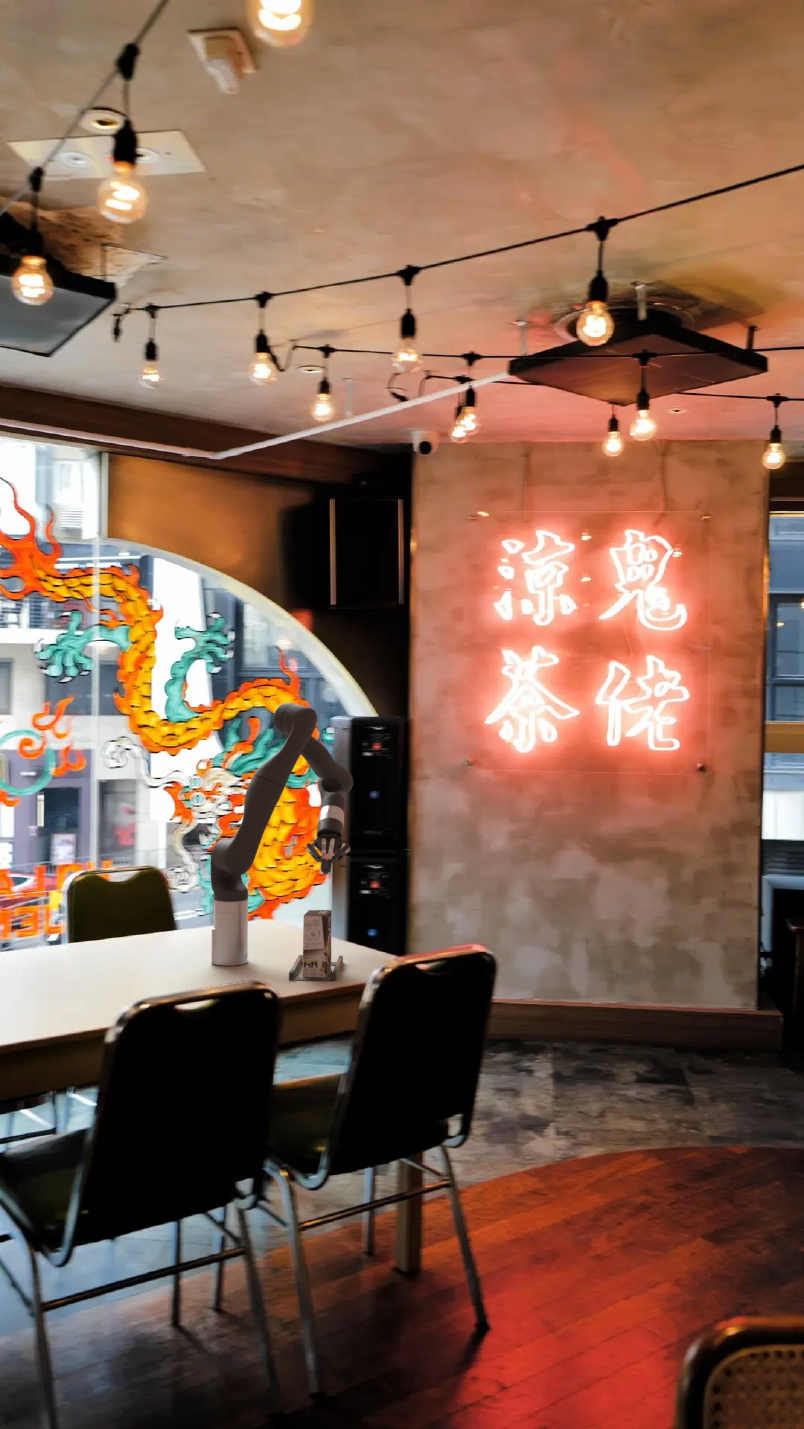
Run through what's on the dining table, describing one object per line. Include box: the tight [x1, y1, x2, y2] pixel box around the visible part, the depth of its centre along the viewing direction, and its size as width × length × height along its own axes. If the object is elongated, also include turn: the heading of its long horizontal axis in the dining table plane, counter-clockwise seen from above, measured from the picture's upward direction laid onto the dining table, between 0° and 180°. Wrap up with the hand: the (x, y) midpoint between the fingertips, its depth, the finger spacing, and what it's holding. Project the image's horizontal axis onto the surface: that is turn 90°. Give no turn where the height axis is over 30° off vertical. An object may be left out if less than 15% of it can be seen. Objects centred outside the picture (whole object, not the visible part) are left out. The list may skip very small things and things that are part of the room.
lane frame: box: [288, 954, 344, 982], centre depth 298 cm, size 12×21×2 cm, turn 178°
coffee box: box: [302, 909, 333, 978], centre depth 295 cm, size 9×6×16 cm
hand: (325, 872), depth 318 cm, fingers closed
